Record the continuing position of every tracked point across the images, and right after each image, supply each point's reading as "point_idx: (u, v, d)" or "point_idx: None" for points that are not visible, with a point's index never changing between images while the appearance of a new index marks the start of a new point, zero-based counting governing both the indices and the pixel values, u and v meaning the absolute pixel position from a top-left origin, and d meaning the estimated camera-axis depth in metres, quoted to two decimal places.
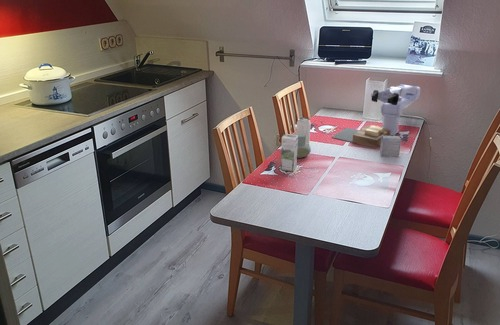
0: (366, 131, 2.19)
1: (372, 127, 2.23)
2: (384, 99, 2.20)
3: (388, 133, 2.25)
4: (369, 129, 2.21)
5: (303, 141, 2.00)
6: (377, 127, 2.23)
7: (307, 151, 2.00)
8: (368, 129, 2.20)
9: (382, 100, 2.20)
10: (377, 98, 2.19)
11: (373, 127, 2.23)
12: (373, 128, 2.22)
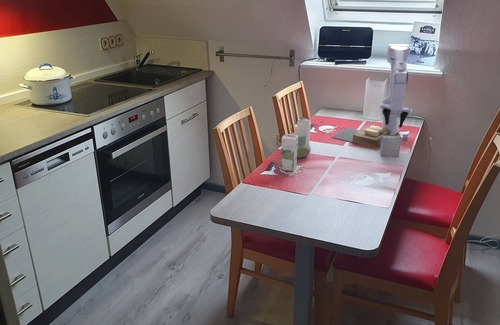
0: (366, 131, 2.19)
1: (372, 127, 2.23)
2: None
3: (388, 133, 2.25)
4: (369, 129, 2.21)
5: (303, 141, 2.00)
6: (377, 127, 2.23)
7: (307, 151, 2.00)
8: (368, 129, 2.20)
9: None
10: (389, 110, 2.15)
11: (373, 127, 2.23)
12: (373, 128, 2.22)
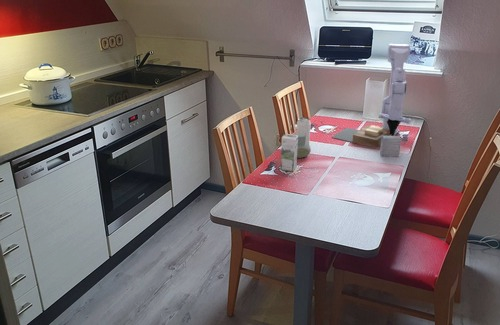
0: (366, 131, 2.19)
1: (372, 127, 2.23)
2: None
3: (388, 133, 2.25)
4: (369, 129, 2.21)
5: (303, 141, 2.00)
6: (377, 127, 2.23)
7: (307, 151, 2.00)
8: (368, 129, 2.20)
9: None
10: None
11: (373, 127, 2.23)
12: (373, 128, 2.22)
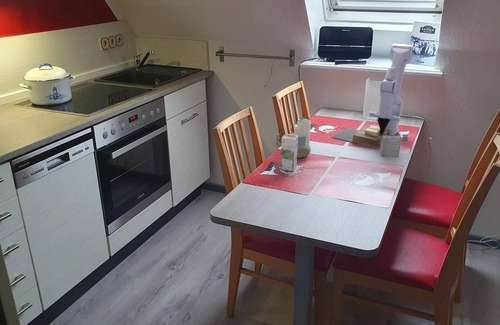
0: (366, 131, 2.19)
1: (372, 127, 2.23)
2: None
3: (388, 133, 2.25)
4: (369, 129, 2.21)
5: (303, 141, 2.00)
6: (377, 127, 2.23)
7: (307, 151, 2.00)
8: (368, 129, 2.20)
9: None
10: None
11: (373, 127, 2.23)
12: (373, 128, 2.22)
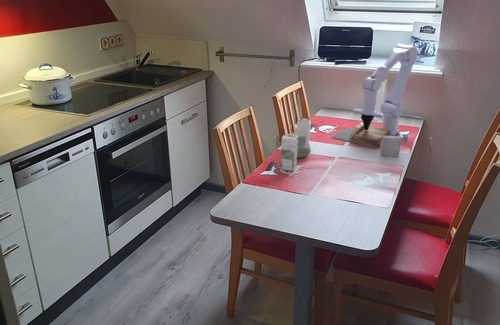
0: (351, 135, 2.24)
1: None
2: None
3: (388, 133, 2.25)
4: None
5: (303, 141, 2.00)
6: None
7: (307, 151, 2.00)
8: None
9: None
10: None
11: None
12: None
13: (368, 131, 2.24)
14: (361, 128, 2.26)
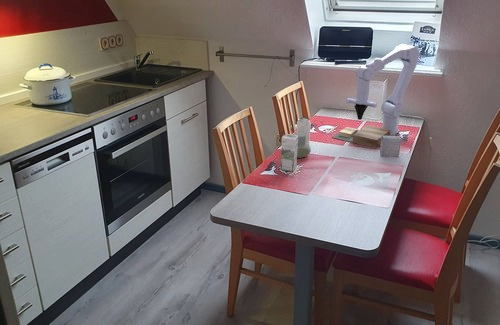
0: (348, 136, 2.26)
1: None
2: None
3: (388, 133, 2.25)
4: None
5: (303, 141, 2.00)
6: None
7: (307, 151, 2.00)
8: None
9: None
10: None
11: None
12: None
13: (368, 131, 2.24)
14: (346, 129, 2.31)
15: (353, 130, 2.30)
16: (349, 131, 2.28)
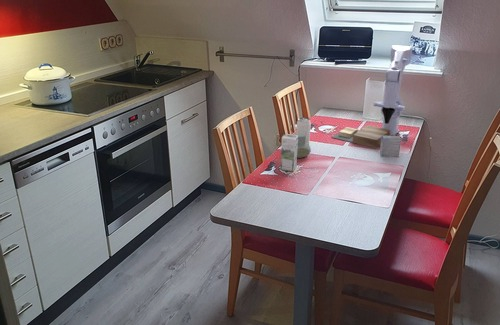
0: (348, 136, 2.26)
1: None
2: None
3: (388, 133, 2.25)
4: None
5: (303, 141, 2.00)
6: None
7: (307, 151, 2.00)
8: None
9: None
10: None
11: None
12: None
13: (368, 131, 2.24)
14: (346, 129, 2.31)
15: (353, 130, 2.30)
16: (349, 131, 2.28)
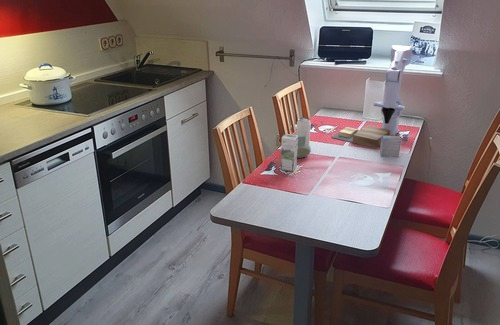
0: (348, 136, 2.26)
1: None
2: None
3: (388, 133, 2.25)
4: None
5: (303, 141, 2.00)
6: None
7: (307, 151, 2.00)
8: None
9: None
10: None
11: None
12: None
13: (368, 131, 2.24)
14: (346, 129, 2.31)
15: (353, 130, 2.30)
16: (349, 131, 2.28)
